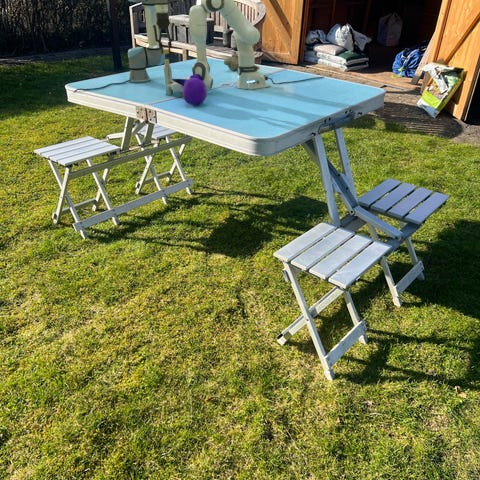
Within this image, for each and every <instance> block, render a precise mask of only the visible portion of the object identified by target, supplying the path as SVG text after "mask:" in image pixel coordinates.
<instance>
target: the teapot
mask: <svg viewBox="0 0 480 480" xmlns="http://www.w3.org/2000/svg"><path fill="white" fill-rule="evenodd" d="M223 64H224V65H225V66H227V67H228V69H229V71H231V72H238V66H239V60H238V53H237V52H236V50H233V53H232V54H231V57H226V58H225V59H224V60H223Z"/></svg>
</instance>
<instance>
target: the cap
mask: <svg viewBox="0 0 480 480" xmlns="http://www.w3.org/2000/svg"><path fill="white" fill-rule="evenodd" d="M163 54H165V55H168V54H170V53H169V49H168V48H164V49H163Z"/></svg>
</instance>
